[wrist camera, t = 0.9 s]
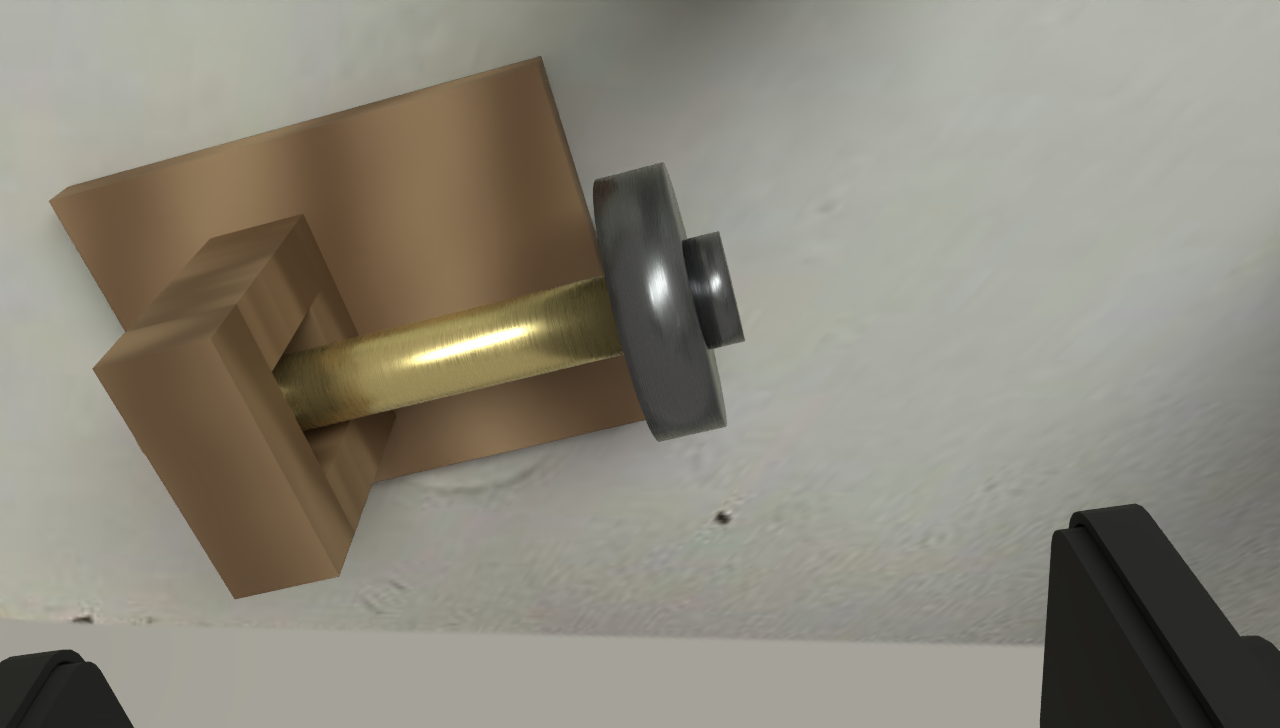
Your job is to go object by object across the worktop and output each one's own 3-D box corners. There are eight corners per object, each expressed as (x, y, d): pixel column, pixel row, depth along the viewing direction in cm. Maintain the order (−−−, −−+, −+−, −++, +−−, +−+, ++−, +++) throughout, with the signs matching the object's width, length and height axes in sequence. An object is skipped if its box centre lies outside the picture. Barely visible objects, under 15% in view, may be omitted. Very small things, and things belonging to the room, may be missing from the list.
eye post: (540, 56, 29) (511, 157, 21) (646, 400, 35) (653, 578, 27) (67, 186, 31) (-120, 324, 23) (243, 493, 37) (141, 686, 29)
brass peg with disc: (692, 118, 28) (712, 213, 22) (745, 336, 32) (775, 472, 26) (145, 262, 30) (22, 387, 24) (251, 454, 34) (168, 606, 28)
